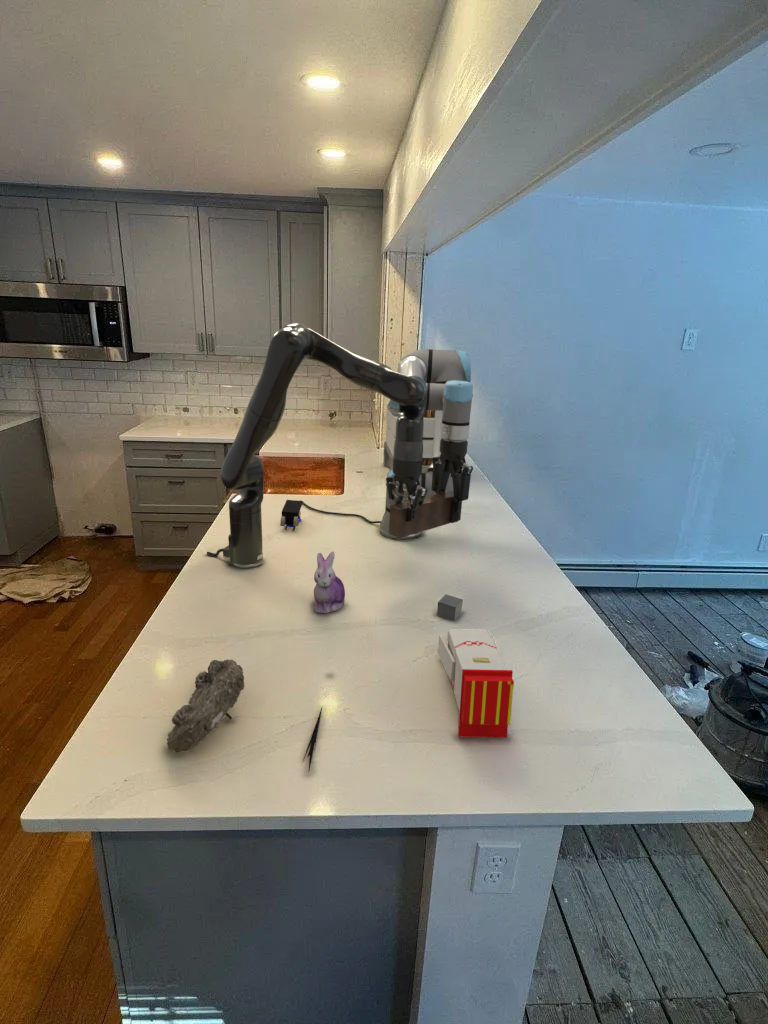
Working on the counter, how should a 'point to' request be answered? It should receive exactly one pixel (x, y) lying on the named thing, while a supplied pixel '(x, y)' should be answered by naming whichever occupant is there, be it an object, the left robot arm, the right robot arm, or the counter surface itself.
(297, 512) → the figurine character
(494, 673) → the toy
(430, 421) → the white slatted crate
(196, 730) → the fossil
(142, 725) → the counter surface
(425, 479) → the right robot arm
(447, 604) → the slate block
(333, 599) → the figurine
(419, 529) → the walnut bar
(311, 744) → the feather
